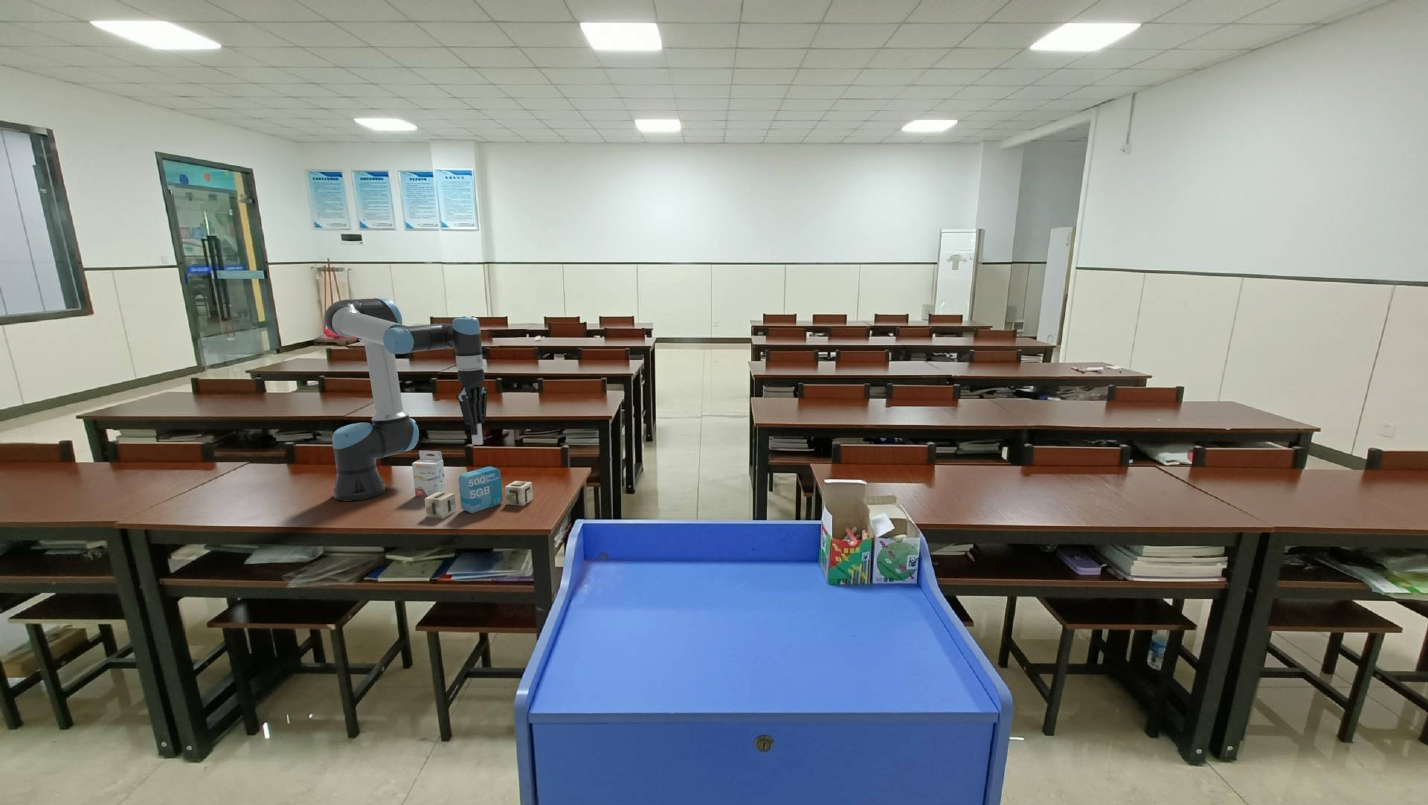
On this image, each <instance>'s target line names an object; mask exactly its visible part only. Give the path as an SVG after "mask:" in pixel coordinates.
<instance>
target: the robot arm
mask: <svg viewBox="0 0 1428 805" xmlns="http://www.w3.org/2000/svg"><path fill="white" fill-rule="evenodd" d="M323 320H324V324H325V326H326V328H327V329H328V330H329V332H331V333H333V334H334V335H336V336H340V337H343V338H353V337H354V338H357V339H358V341H359V342H361V343H362V344H363V345H364V347H365V348H364V349H365V355H366V362H367V367H368V368H367V369H368V373H369V380H370V386H371V394H372V398H373V406H374V410H375V414H374V415H373V416H372V417H371V422H356V423H351V424H347V425H345V426H341V427H339V428H337V429H336V430H335V431H334V432H333V433H332V448H333V456H334V461H335V468H336V479H335V484H334V488H333V498H335V499H334V500H336V499H337V500H336V501H339V500H345V501H344V502H350V501H349V500H357V501H362V500H367V499H371V498H370V497H372V498H374V497H377V496H379V494H380V495H382V494H383V493H384V492H385V491H386V486H385V481H384V480H383V479H382V477H381V475H380V473H379V471H378V468H377V460H378V459H382V458H385V457H390V456H395V455H398V454H403V453H405V452H407V451H411V450H412V449H414V448H415V447H416V445H417V444H418V442H419V437H420V436H419V435H420V432H419V427H418V424H417V422H416V420H415V419H413V418H411V417H410V414H409V413H408V412H406V411H405V410H404V407H403V400H402V394H401V393H402V392H401V388H400V387H401V386H400V381H399V380H400V379H399V375H398V368H397V367H398V366H397V362H396V355H406V354H411V353H416V352H417V353H418V352H426V351H433V350H434V351H436V350H442V349H454V352H455V363H456V369H458V370H457V372H456V373H457V380H458V383H459V384H461V387H460V388H461V392H460V393H459V394H456V400H457V401H458V403H459V406H460V407H459V408H460V410H461V414H462V417H463V418H462V419H463V421H464V424H465V425H470V426H469V428H470V435H471V442H472V444H471V445H477V446H481V445H483V444H484V438H483V426H482V424H485V421H486V418H487V403H488V401H487V400H488V393H489V388H488V387H484V384H483V382H484V381H485V370H484V369H483V367H484V361H483V360H484V359H483V358H484V357H483V348H482V336H481V334H482V330H481V326H480V321H479V319H478V318H476V317H474V316H473V317H471V316H470V317H468V316H467V317H455V318H453V319H452V323H445V322H440V323H437V322H436V323H432V324H425V325H412V326H411V325H410V326H408V325H403V316H402V313H401V311H400V308H399V307H398V305H397V304H395V302H393V301H392V300H390V299H388V298H376V297H374V298H360V299H359V298H358V299H355V298H354V299H342V300H338V301H336V302H332V304H330V305H329V306H328V307H327V309H326V311H325V313H324V317H323ZM371 423H372V424H371ZM346 500H347V501H346Z"/></svg>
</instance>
